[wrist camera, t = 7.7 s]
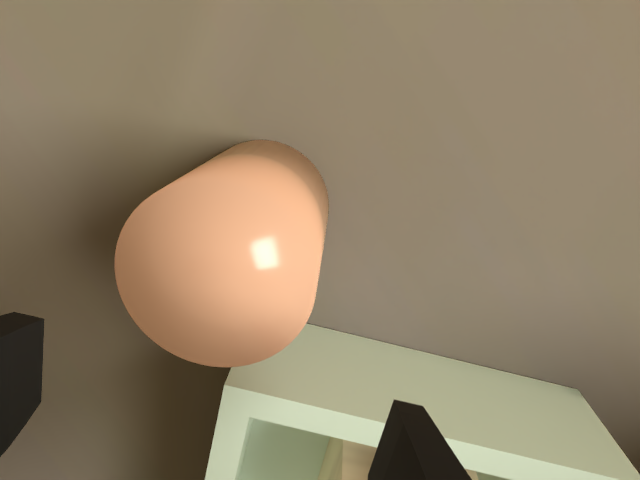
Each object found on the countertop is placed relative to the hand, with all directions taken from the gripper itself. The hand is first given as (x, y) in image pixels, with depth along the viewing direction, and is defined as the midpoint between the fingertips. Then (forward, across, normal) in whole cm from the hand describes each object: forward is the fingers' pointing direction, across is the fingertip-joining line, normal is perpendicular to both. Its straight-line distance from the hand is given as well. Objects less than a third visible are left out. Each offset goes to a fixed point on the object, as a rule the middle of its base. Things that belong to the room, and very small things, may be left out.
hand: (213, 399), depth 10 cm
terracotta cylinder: (+10, +1, -1) cm, 10 cm away
